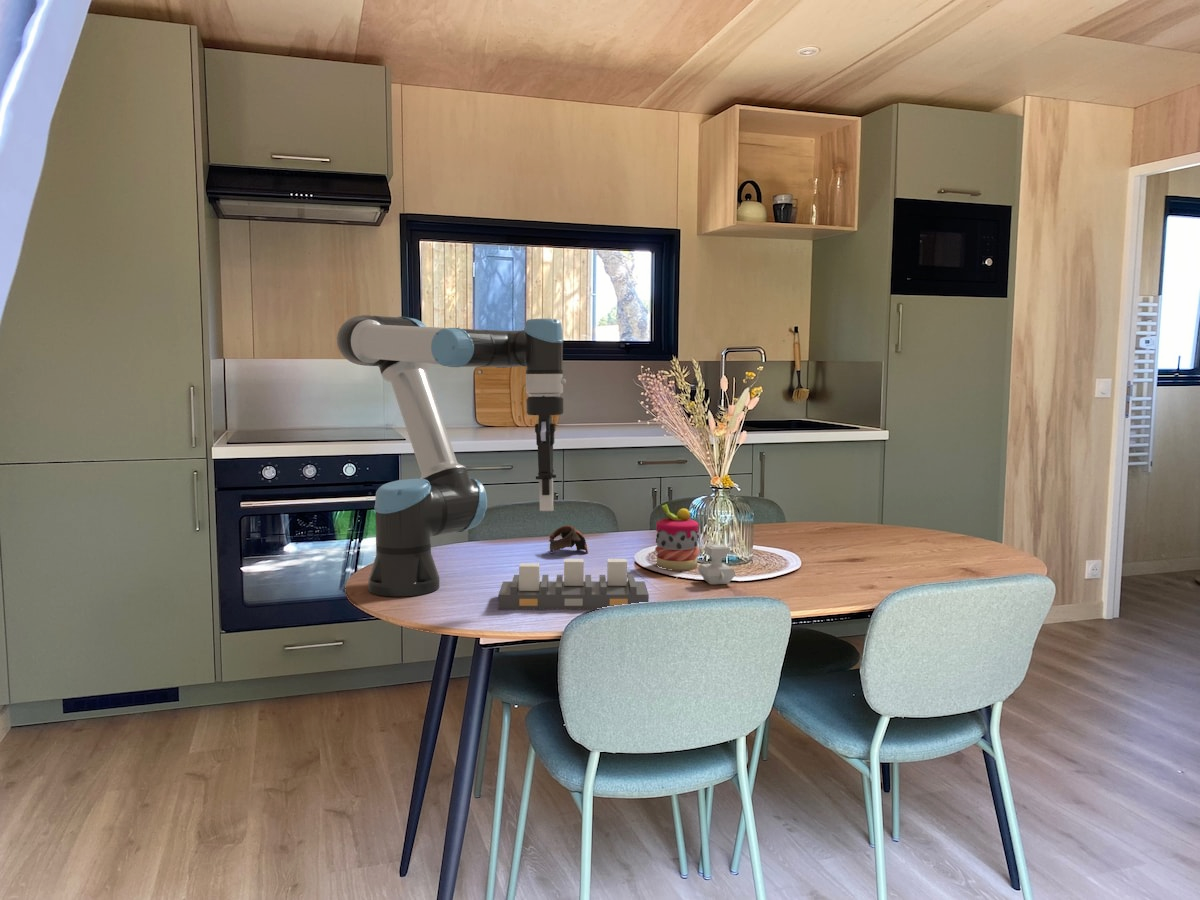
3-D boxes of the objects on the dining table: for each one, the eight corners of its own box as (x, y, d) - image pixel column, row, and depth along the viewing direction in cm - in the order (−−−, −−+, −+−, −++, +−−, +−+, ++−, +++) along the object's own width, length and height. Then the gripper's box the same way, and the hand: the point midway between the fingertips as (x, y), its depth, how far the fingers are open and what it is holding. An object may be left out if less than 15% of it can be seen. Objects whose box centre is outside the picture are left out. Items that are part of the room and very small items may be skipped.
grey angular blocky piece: (695, 579, 204) (696, 542, 204) (723, 577, 206) (723, 541, 205) (708, 588, 196) (709, 550, 195) (737, 587, 197) (738, 549, 196)
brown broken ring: (593, 558, 229) (579, 532, 226) (559, 574, 229) (545, 548, 226) (587, 537, 240) (574, 513, 237) (555, 552, 240) (542, 528, 237)
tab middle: (564, 585, 184) (564, 561, 184) (564, 582, 187) (564, 558, 187) (583, 585, 184) (583, 561, 184) (583, 582, 187) (583, 558, 187)
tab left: (519, 590, 180) (519, 566, 179) (520, 587, 183) (520, 563, 182) (539, 590, 180) (539, 566, 179) (539, 587, 183) (539, 563, 182)
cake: (695, 561, 223) (696, 502, 221) (701, 571, 212) (702, 508, 211) (653, 561, 223) (654, 502, 221) (657, 571, 212) (658, 508, 211)
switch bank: (498, 609, 177) (498, 587, 177) (503, 595, 189) (502, 574, 188) (648, 609, 178) (648, 587, 178) (644, 595, 189) (644, 574, 189)
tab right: (607, 585, 184) (607, 561, 184) (607, 582, 187) (607, 558, 187) (626, 585, 184) (627, 561, 184) (626, 582, 187) (626, 558, 187)
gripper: (561, 395, 175) (562, 515, 176) (565, 394, 188) (566, 505, 189) (523, 396, 175) (525, 515, 177) (529, 395, 188) (531, 506, 190)
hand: (546, 510), depth 183 cm, fingers closed
